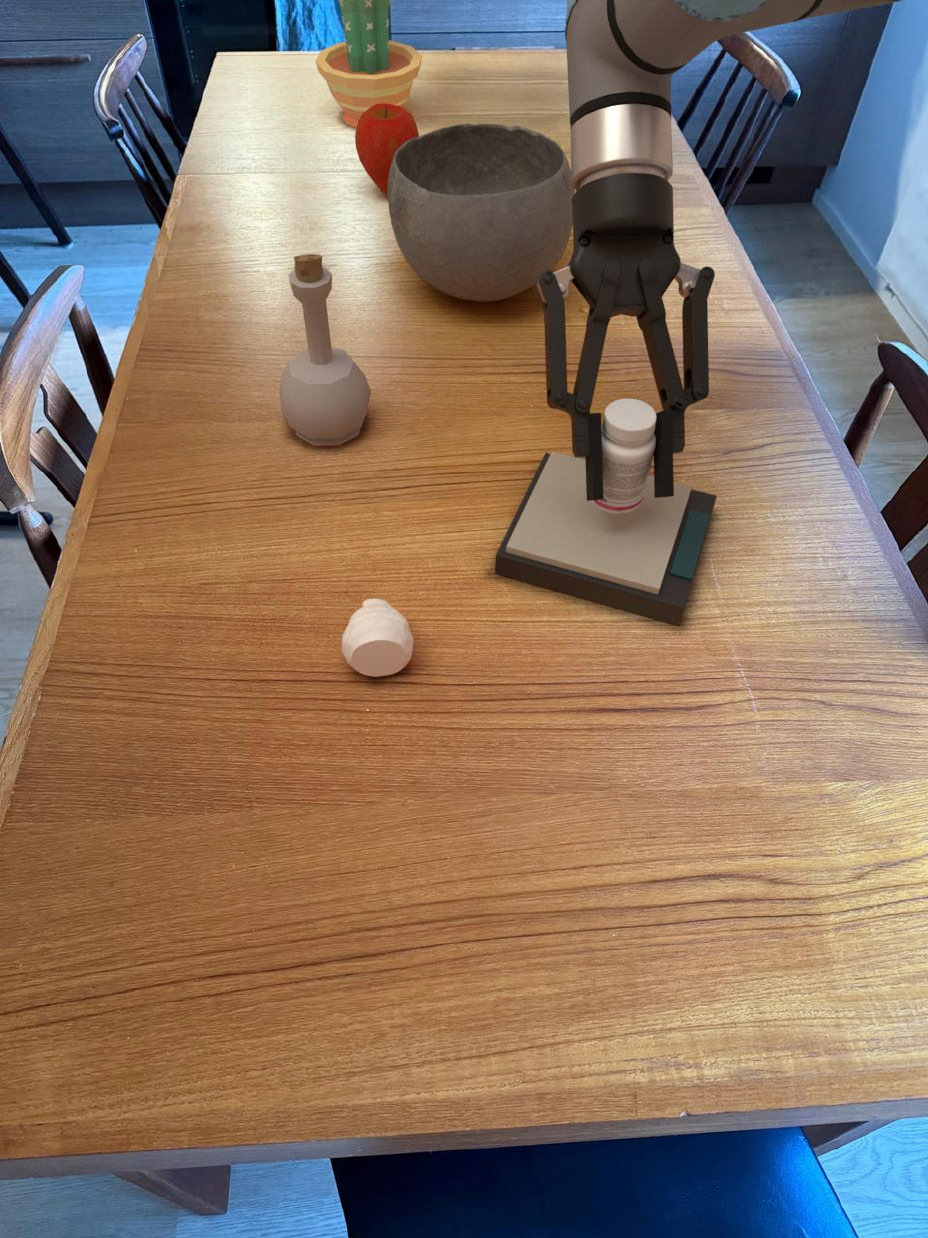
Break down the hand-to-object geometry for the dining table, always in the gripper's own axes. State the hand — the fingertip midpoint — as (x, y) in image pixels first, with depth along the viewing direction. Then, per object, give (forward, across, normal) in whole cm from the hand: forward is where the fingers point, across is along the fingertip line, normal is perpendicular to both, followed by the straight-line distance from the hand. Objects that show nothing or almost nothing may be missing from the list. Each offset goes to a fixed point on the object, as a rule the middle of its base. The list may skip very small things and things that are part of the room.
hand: (629, 497), depth 70 cm
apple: (-43, +17, -56) cm, 73 cm away
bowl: (-27, +7, -40) cm, 48 cm away
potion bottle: (-9, +25, -22) cm, 34 cm away
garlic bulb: (+11, +20, -2) cm, 23 cm away
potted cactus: (-60, +19, -73) cm, 97 cm away
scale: (+4, 0, -9) cm, 10 cm away
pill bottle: (0, 0, -5) cm, 5 cm away
